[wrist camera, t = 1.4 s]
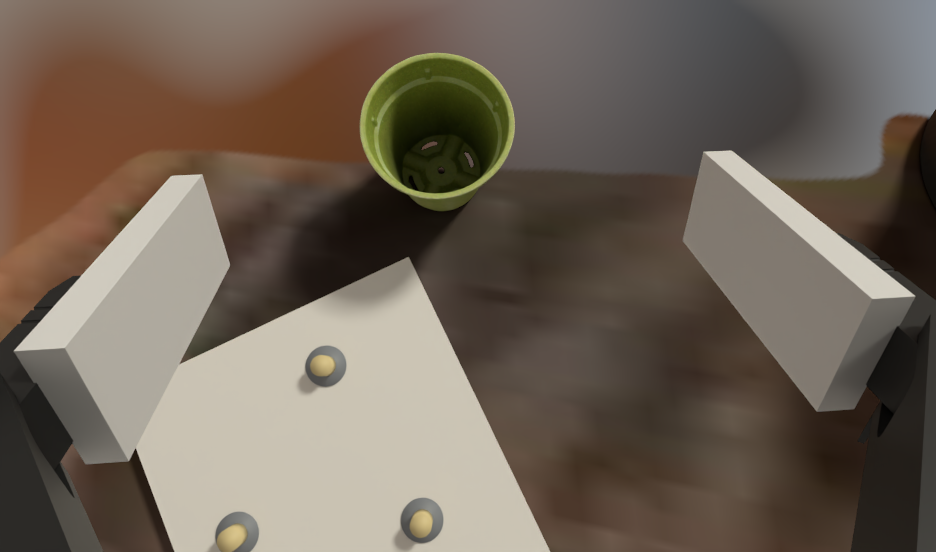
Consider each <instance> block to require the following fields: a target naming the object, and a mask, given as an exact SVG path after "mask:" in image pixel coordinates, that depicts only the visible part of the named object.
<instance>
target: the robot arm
mask: <svg viewBox="0 0 936 552" xmlns="http://www.w3.org/2000/svg"><path fill="white" fill-rule="evenodd" d="M920 158H921V170H922V175H923V179H924V183H925V186H926V189H927V192H928V194H929V196H930V198H931V200H932V202H933V204H934V206H935V208H936V110H935V111H934V113H933V114H932V116H931V117H930V119H929V121H928V123H927V125H926V128H925V131H924V134H923V138H922V143H921V154H920ZM683 242H684V243H685V244H686V246H687V247H688V248H689V249H690V251H691V252H692V253H693V254H694V256H695V257H696V258H697V260H698V261H699V262H700V263H701V265H702V266H703V267H704V269H705V270H706V271H707V272H708V274H709V275H710V276H711V277H712V279H713V280H714V281H715V283H716V284H717V285H718V286H719V288H720V289H721V290H722V291H723V293H724V294H725V295H726V297H727V298H728V299H729V300H730V302H731V303H732V304H733V305H734V307H735V308H736V309H737V311H738V312H739V313H740V314H741V316H742V317H743V318H744V320H745V321H746V322H747V323H748V325H749V326H750V327H751V328H752V330H753V331H754V332H755V334H756V335H757V336H758V337H759V339H760V340H761V341H762V342H763V344H764V345H765V346H766V348H767V349H768V350H769V351H770V353H771V354H772V355H773V357H774V358H775V359H776V360H777V362H778V363H779V364H780V365H781V367H782V368H783V369H784V371H785V372H786V373H787V374H788V376H789V377H790V378H791V379H792V381H793V382H794V383H795V385H796V386H797V387H798V388H799V390H800V391H801V392H802V393H803V395H804V396H805V397H806V399H807V400H808V401H809V402H810V404H811V405H812V406H813V408H814V409H815V410H816V411H817V412H822V411H836V410H850V409H855V407H856V405H857V403H858V401H859V400H860V398H861V396H862V394H863V392H864V390H865V389H866V387H867V386H868V387H869V389H870V390H871V391H872V392H873V393H874V394H875V395H876V396H877V397H878V398H879V399H880V400H881V401H880V403H879V404H878V406H877V408H876V409H875V411H874V413H873V415H872V416H871V418H870V420H869V422H868V423H867V425H866V427H865V429H864V430H863V432H862V434H861V436H860V437H859V439H858V442H861V443H863V444H864V443H865V441H866V440H867V439H868V437H869V440H868V446H867V453H866V459H865V465H864V471H863V478H862V484H861V490H860V497H859V503H858V509H857V516H856V522H855V528H854V535H853V541H852V547H851V552H936V300H934V299H933V298H932V297H931V296H929V295H928V294H927V293H925V292H924V291H923V290H921V289H920V288H919V287H917V286H916V285H915V284H914V283H912V282H911V281H910V280H908V279H907V278H906V277H904V276H903V275H902V274H901V273H899V272H898V271H894V268H893V267H891V266H890V265H889V264H888V263H886V262H885V261H884V260H880V257H878V256H877V255H876V254H875V253H873V252H872V251H871V250H869V249H868V248H867V247H865V246H864V245H863V244H861V243H859V242H857V241H854V240H852V239H850V238H848V237H846V236H844V235H842V234H839V233H835V232H834V231H832V230H831V229H830V228H829V227H827V226H826V225H825V224H824V223H822V222H821V221H820V220H818V219H817V218H816V217H815V216H813V215H812V214H811V213H810V212H808V211H807V210H806V209H805V208H803V207H802V206H801V205H800V204H798V203H797V202H796V201H794V200H793V199H792V198H791V197H789V196H788V195H787V194H786V193H784V192H783V191H782V190H781V189H779V188H778V187H777V186H775V185H774V184H773V183H772V182H770V181H769V180H768V179H767V178H765V177H764V176H763V175H762V174H760V173H759V172H758V171H757V170H755V169H754V168H753V167H751V166H750V165H749V164H748V163H746V162H745V161H744V160H743V159H741V158H740V157H739V156H738V155H736V154H735V153H734V152H732V151H715V152H714V151H712V152H704V153H703V156H702V161H701V165H700V169H699V174H698V178H697V182H696V186H695V191H694V195H693V199H692V203H691V208H690V212H689V216H688V221H687V225H686V229H685V233H684V238H683ZM229 266H230V263H229V260H228V257H227V253H226V250H225V247H224V244H223V240H222V237H221V234H220V231H219V227H218V224H217V221H216V218H215V214H214V211H213V208H212V205H211V201H210V198H209V195H208V192H207V188H206V185H205V182H204V179H203V175H182V176H171V177H170V178H169V179H168V180H167V181H166V183H165V184H164V185H163V186H162V187H161V188H160V189H159V190H158V191H157V193H156V194H155V195H154V196H153V197H152V198H151V199H150V200H149V201H148V203H147V204H146V205H145V206H144V207H143V208H142V209H141V210H140V211H139V212H138V214H137V215H136V216H135V217H134V218H133V219H132V220H131V221H130V222H129V224H128V225H127V226H126V227H125V228H124V229H123V230H122V231H121V232H120V234H119V235H118V236H117V237H116V238H115V239H114V240H113V241H112V242H111V244H110V245H109V246H108V247H107V248H106V249H105V250H104V251H103V252H102V254H101V255H100V256H99V257H98V258H97V259H96V260H95V261H94V262H93V264H92V265H91V266H90V267H89V268H88V269H87V270H86V271H85V272H84V274H83V275H82V276H72V277H71V278H69V279H68V280H66V281H64V282H63V283H61V284H60V285H58V286H56V287H55V288H53V289H52V290H50V291H49V292H48V293H47V294H46V295H45V296H44V297H43V298H42V299H41V300H40V301H39V302H38V303H37V304H36V306H35V307H34V310H31V311H30V312H29V313H28V314H27V315H26V316H25V317H24V318H23V319H22V320H21V324H17V326H16V327H15V328H14V329H13V330H12V331H11V332H10V333H9V334H8V335H7V336H6V337H5V338H4V339H3V340H2V341H1V342H0V552H103V550H102V548H101V545H100V543H99V541H98V539H97V536H96V534H95V532H94V530H93V528H92V525H91V523H90V521H89V519H88V516H87V514H86V512H85V510H84V507H83V505H82V503H81V501H80V498H79V496H78V494H77V492H76V490H75V487H74V485H73V483H72V481H71V478H70V476H69V474H68V472H67V471H66V469H65V468H64V466H63V465H62V463H61V462H60V461H61V460H62V458H63V457H64V455H65V453H66V452H67V450H68V449H69V447H70V446H71V444H73V445H74V447H75V448H76V450H77V451H78V453H79V455H80V456H81V458H82V459H83V461H84V462H85V464H96V463H110V462H124V461H129V460H130V458H131V456H132V454H133V452H134V450H135V448H136V446H137V444H138V442H139V440H140V439H141V437H142V435H143V433H144V431H145V429H146V427H147V425H148V423H149V421H150V419H151V417H152V415H153V413H154V411H155V410H156V408H157V406H158V404H159V402H160V400H161V398H162V396H163V394H164V392H165V390H166V388H167V386H168V384H169V382H170V381H171V379H172V377H173V375H174V373H175V371H176V369H177V367H178V365H179V363H180V361H181V359H182V357H183V355H184V353H185V352H186V350H187V348H188V346H189V344H190V342H191V340H192V338H193V336H194V334H195V332H196V330H197V328H198V326H199V324H200V323H201V321H202V319H203V317H204V315H205V313H206V311H207V309H208V307H209V305H210V303H211V301H212V299H213V297H214V295H215V294H216V292H217V290H218V288H219V286H220V284H221V282H222V280H223V278H224V276H225V274H226V272H227V270H228V268H229Z"/></svg>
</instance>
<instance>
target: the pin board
mask: <svg viewBox="0 0 936 552" xmlns="http://www.w3.org/2000/svg"><path fill="white" fill-rule="evenodd" d="M136 450H137V453H138V455H139V458H140V461H141V463H142V466H143V469H144V471H145V474H146V477H147V479H148V482H149V485H150V487H151V490H152V493H153V495H154V498H155V501H156V504H157V506H158V509H159V512H160V514H161V517H162V520H163V522H164V525H165V528H166V530H167V533H168V536H169V538H170V541H171V544H172V546H173V549H174V552H550V550H549V548H548V546H547V544H546V542H545V540H544V538H543V536H542V534H541V532H540V530H539V527H538V525H537V523H536V521H535V519H534V517H533V515H532V513H531V511H530V509H529V507H528V505H527V502H526V500H525V498H524V496H523V494H522V492H521V490H520V488H519V486H518V484H517V482H516V480H515V477H514V475H513V473H512V471H511V469H510V467H509V465H508V463H507V461H506V459H505V457H504V454H503V452H502V450H501V448H500V446H499V444H498V442H497V440H496V438H495V436H494V434H493V432H492V429H491V427H490V425H489V423H488V421H487V419H486V417H485V415H484V413H483V411H482V409H481V407H480V404H479V402H478V400H477V398H476V396H475V394H474V392H473V390H472V388H471V386H470V384H469V382H468V379H467V377H466V375H465V373H464V371H463V369H462V367H461V365H460V363H459V361H458V359H457V357H456V354H455V352H454V350H453V348H452V346H451V344H450V342H449V340H448V338H447V336H446V334H445V332H444V329H443V327H442V325H441V323H440V321H439V319H438V317H437V315H436V313H435V311H434V309H433V306H432V304H431V302H430V300H429V298H428V296H427V294H426V292H425V290H424V288H423V286H422V284H421V281H420V279H419V277H418V275H417V273H416V271H415V269H414V267H413V265H412V263H411V261H410V259H409V257H407V258H405V259H403V260H401V261H399V262H397V263H394V264H392V265H390V266H388V267H386V268H384V269H382V270H380V271H377V272H375V273H373V274H371V275H369V276H367V277H365V278H362V279H360V280H358V281H356V282H354V283H352V284H350V285H348V286H345V287H343V288H341V289H339V290H337V291H335V292H333V293H331V294H328V295H326V296H324V297H322V298H320V299H318V300H316V301H314V302H311V303H309V304H307V305H305V306H303V307H301V308H299V309H297V310H294V311H292V312H290V313H288V314H286V315H284V316H282V317H280V318H277V319H275V320H273V321H271V322H269V323H267V324H265V325H263V326H260V327H258V328H256V329H254V330H252V331H250V332H248V333H246V334H243V335H241V336H239V337H237V338H235V339H233V340H231V341H229V342H226V343H224V344H222V345H220V346H218V347H216V348H214V349H211V350H209V351H207V352H205V353H203V354H201V355H199V356H197V357H194V358H192V359H190V360H188V361H186V362H184V363H182V364H180V365H178V367H177V369H176V371H175V373H174V375H173V377H172V379H171V381H170V382H169V384H168V386H167V388H166V390H165V392H164V394H163V396H162V398H161V400H160V402H159V404H158V406H157V408H156V410H155V411H154V413H153V415H152V417H151V419H150V421H149V423H148V425H147V427H146V429H145V431H144V433H143V435H142V437H141V439H140V440H139V442H138V444H137V446H136Z"/></svg>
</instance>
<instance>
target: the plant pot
mask: <svg viewBox="0 0 936 552" xmlns="http://www.w3.org/2000/svg"><path fill="white" fill-rule="evenodd" d="M514 131H515V120H514V113H513V109H512V105H511V102H510V100H509V97H508V95H507V93H506V91H505V90H504V88H503V86H502V85H501V84H500V83H499V81H498V80H497V79H496V78H495V77H494V76H493V75H492V74H491V73H490V72H489V71H488V70H486V69H485V68H484V67H482V66H481V65H479V64H477V63H476V62H473V61H471V60H469V59H466V58H464V57H461V56H457V55H453V54H446V53H429V54H424V55H418V56H414V57H411V58H409V59H406V60H404V61H402V62H400V63H398V64H396V65H395V66H393V67H392V68H390V69H389V70H388V71H387V72H385V73H384V74H383V75H382V76H381V77H380V78H379V79H378V80H377V81H376V82H375V84H374V85H373V86H372V88H371V90H370V91H369V93H368V95H367V97H366V99H365V101H364V104H363V108H362V111H361V117H360V136H361V141H362V146H363V149H364V151H365V154H366V156H367V158H368V160H369V162H370V164H371V165H372V167H373V168H374V169H375V171H376V172H377V173H378V174H379V175H380V177H381V178H383V179H384V180H385V181H386V182H387V183H388V184H390V185H391V186H392V187H394V188H396V189H397V190H399V191H401V192H403V193H405V194H408V195H409V196H410V197H411V198H412V199H413V200H414V201H415V202H416V203H417V204H419V205H421V206H423V207H425V208H428V209H431V210H435V211H448V210H453V209H456V208H458V207H460V206H462V205H464V204H465V203H467V202H468V201H469V200H470V199H471V198H472V197H473V196H474V194H475V193H476V192H477V190H478V188H479V187H480V186H482V185H483V184H484V183H486V182H487V181H488V180H489V179H490V178H492V177H493V176H494V175H495V173H496V172H497V171H498V170H499V169H500V167H501V166H502V165H503V163H504V162H505V160H506V158H507V156H508V154H509V151H510V149H511V146H512V142H513V137H514ZM433 141H435V142H437V143H438V144H437V145H436V146H432V147H429V148H427V149H424V150H421V149H422V147H423V146H424V145H426V144H427V143H429V142H433ZM465 152H466V153H469V155H470V156H471V158H472V160H473V163H474V166H473V167H472V168H471V167H470V165H469V162H468V159H467V157H466V156H465V154H464V153H465ZM440 167H442V168H444V173H443V174H440V173H439V172H438V169H439V168H440ZM410 176H412V177H413V180H414V183H415V185H416V187H417V188H418V191H415V190H413V188H412V185H411V184H410V183H409V177H410Z"/></svg>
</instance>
